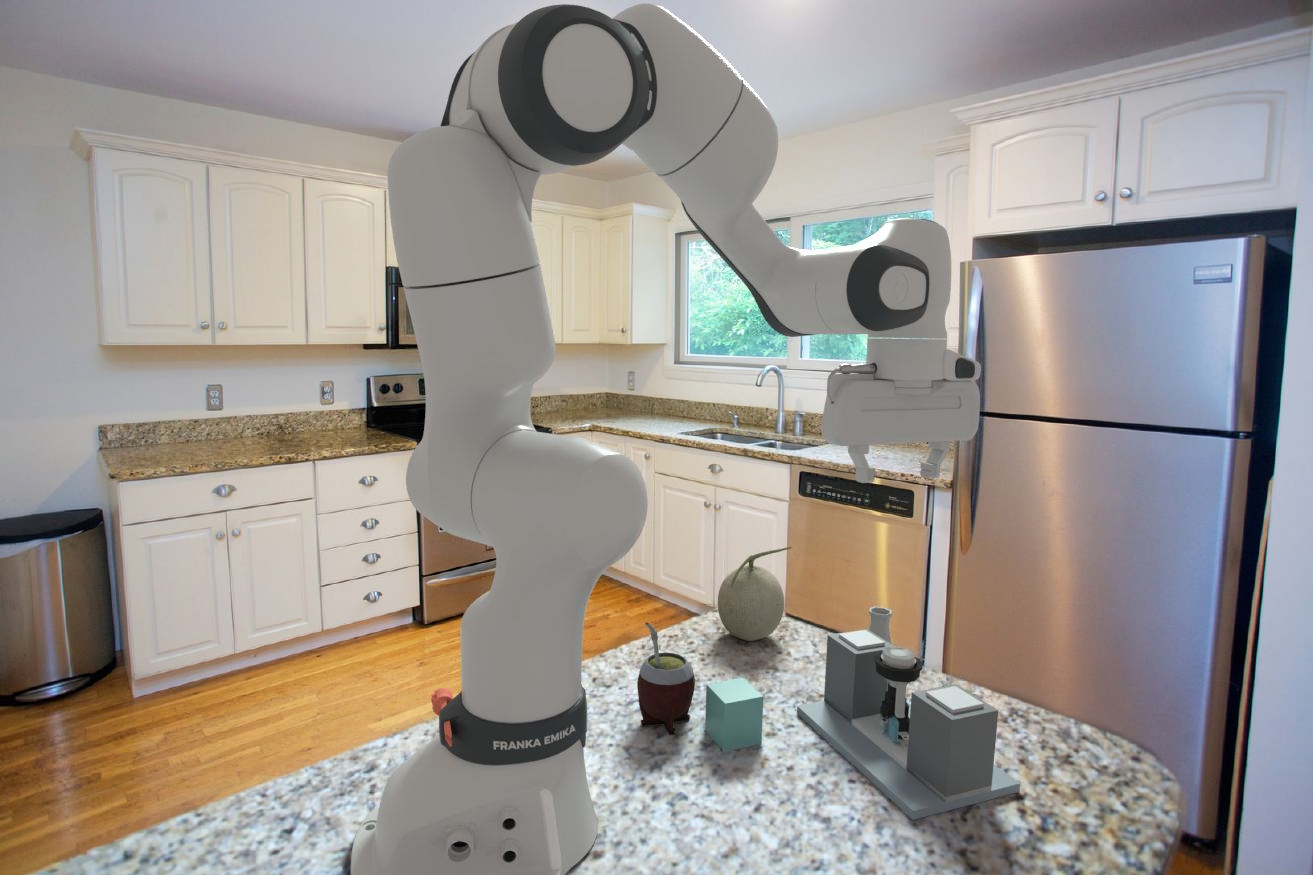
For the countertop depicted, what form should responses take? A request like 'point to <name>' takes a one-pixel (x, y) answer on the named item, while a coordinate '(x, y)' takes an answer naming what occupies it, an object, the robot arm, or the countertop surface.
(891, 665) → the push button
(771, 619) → the fruit
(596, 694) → the countertop surface
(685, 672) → the mate gourd
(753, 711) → the block
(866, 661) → the gray block stand
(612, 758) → the countertop surface
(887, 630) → the flask
